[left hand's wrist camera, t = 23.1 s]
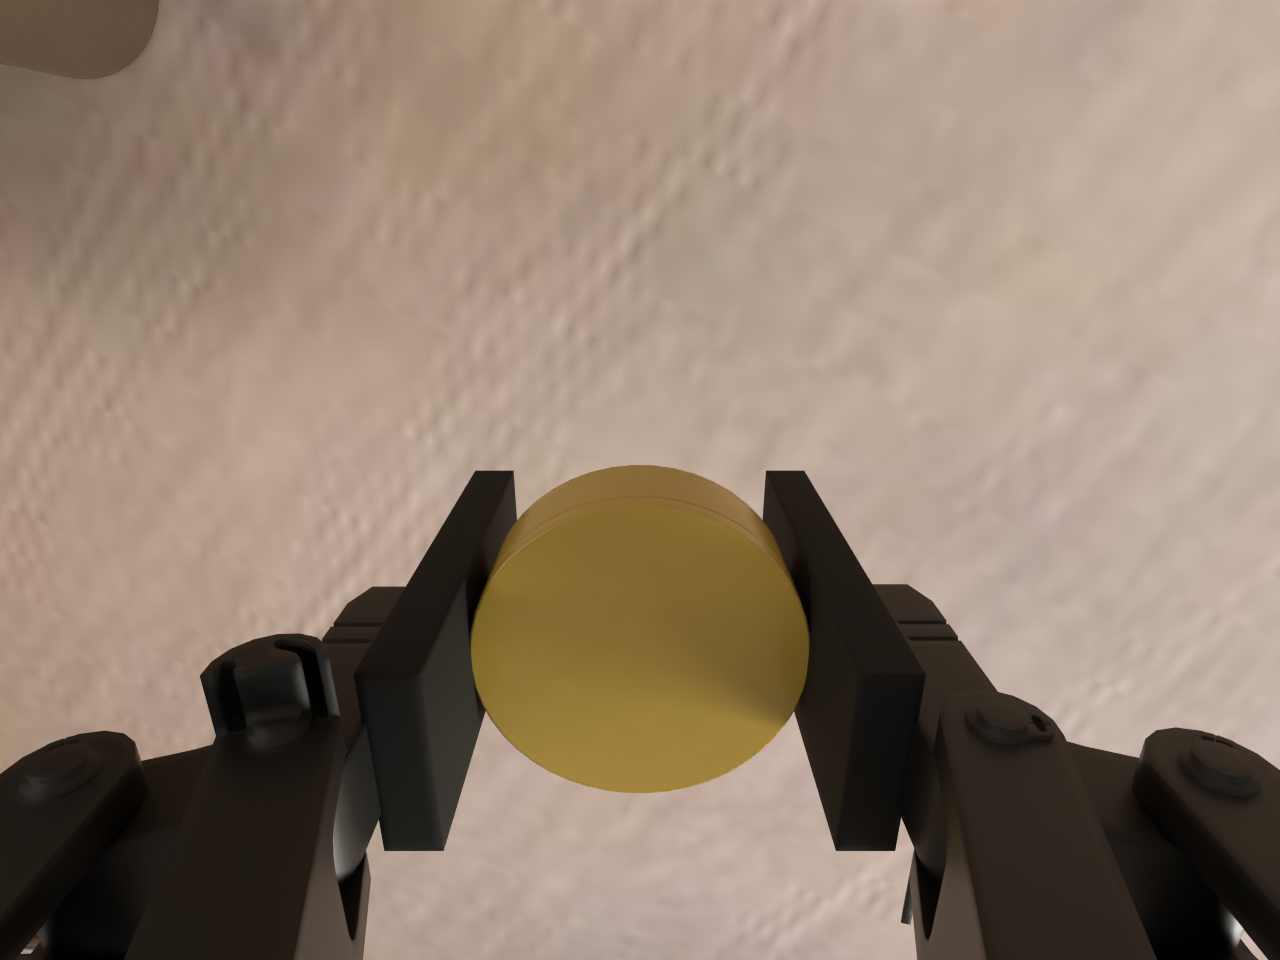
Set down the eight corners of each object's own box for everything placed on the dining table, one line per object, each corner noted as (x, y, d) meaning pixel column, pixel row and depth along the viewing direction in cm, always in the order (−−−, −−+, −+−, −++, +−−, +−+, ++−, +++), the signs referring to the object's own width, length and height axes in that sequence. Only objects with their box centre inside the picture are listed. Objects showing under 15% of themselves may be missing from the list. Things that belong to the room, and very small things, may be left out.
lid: (785, 718, 13) (805, 788, 12) (509, 729, 13) (491, 800, 12) (793, 456, 11) (818, 497, 10) (471, 471, 11) (445, 514, 10)
